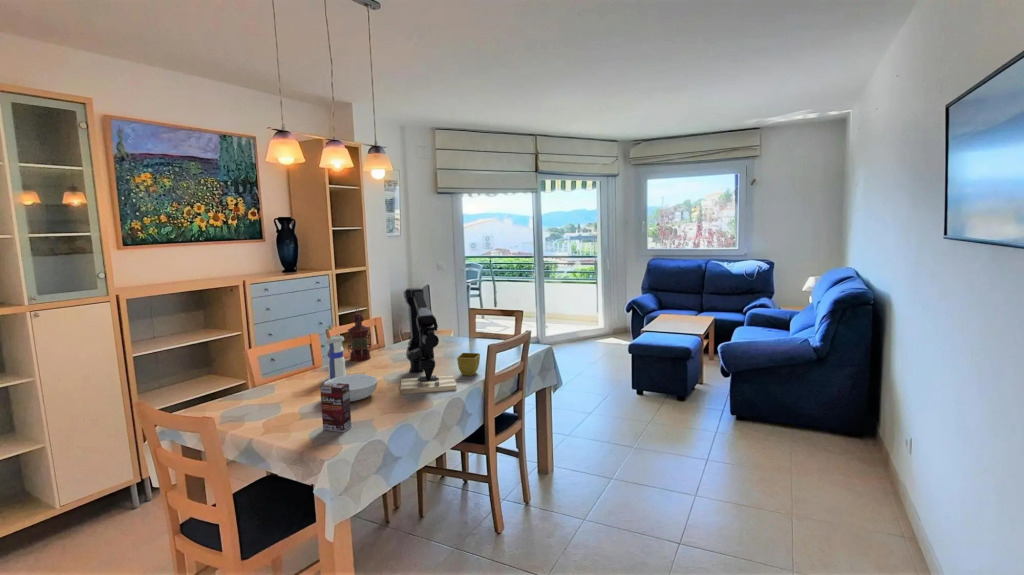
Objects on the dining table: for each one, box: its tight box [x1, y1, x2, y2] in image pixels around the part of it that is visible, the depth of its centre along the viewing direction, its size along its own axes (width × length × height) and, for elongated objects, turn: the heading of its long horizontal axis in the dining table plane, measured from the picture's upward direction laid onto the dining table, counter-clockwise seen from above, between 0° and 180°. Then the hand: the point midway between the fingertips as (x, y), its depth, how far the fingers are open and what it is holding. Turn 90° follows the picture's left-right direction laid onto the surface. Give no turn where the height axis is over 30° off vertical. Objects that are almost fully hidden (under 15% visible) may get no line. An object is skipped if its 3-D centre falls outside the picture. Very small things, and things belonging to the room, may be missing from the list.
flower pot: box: [456, 352, 481, 376], centre depth 238 cm, size 9×9×9 cm
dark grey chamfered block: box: [419, 375, 437, 382], centre depth 225 cm, size 3×7×4 cm, turn 101°
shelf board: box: [400, 375, 457, 395], centre depth 222 cm, size 14×23×4 cm, turn 100°
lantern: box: [346, 301, 373, 362], centre depth 268 cm, size 12×12×30 cm
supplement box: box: [319, 382, 352, 433], centre depth 177 cm, size 9×5×16 cm, turn 75°
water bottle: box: [325, 323, 347, 380], centre depth 234 cm, size 8×8×25 cm
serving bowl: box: [323, 374, 378, 403], centre depth 209 cm, size 21×21×7 cm
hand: (428, 377), depth 225 cm, fingers open, 9 cm apart
